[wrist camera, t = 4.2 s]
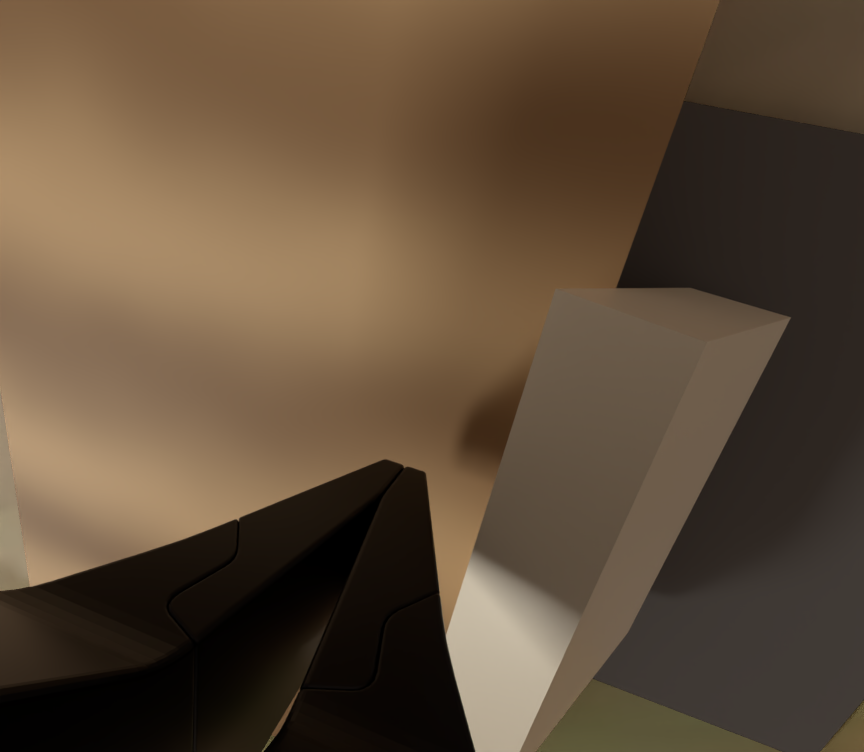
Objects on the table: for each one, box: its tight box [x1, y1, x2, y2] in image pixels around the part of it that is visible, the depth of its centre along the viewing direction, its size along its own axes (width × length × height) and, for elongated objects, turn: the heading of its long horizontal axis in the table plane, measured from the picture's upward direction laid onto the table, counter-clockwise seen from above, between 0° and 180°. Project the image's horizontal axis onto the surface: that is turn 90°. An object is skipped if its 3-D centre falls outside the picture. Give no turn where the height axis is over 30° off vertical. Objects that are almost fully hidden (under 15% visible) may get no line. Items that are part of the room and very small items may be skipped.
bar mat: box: [593, 101, 864, 752], centre depth 12 cm, size 16×10×1 cm, turn 168°
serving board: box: [0, 0, 720, 737], centre depth 13 cm, size 22×14×4 cm, turn 168°
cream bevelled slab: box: [446, 288, 791, 752], centre depth 10 cm, size 9×6×2 cm
